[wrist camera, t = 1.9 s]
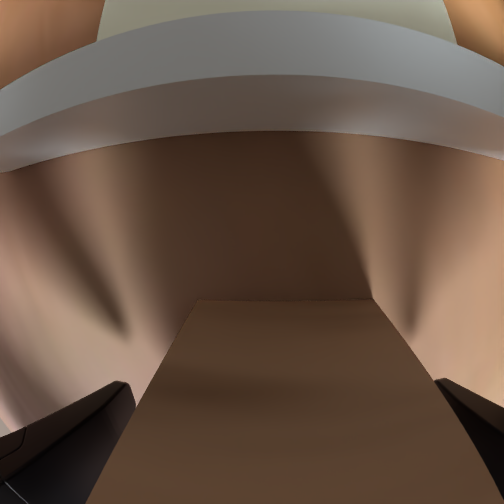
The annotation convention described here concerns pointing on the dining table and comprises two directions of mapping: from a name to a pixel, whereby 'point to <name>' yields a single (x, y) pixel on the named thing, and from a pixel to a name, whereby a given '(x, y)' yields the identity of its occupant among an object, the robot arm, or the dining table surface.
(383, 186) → the dining table surface
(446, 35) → the plate
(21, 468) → the robot arm
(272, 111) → the plastic wall
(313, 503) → the walnut block
